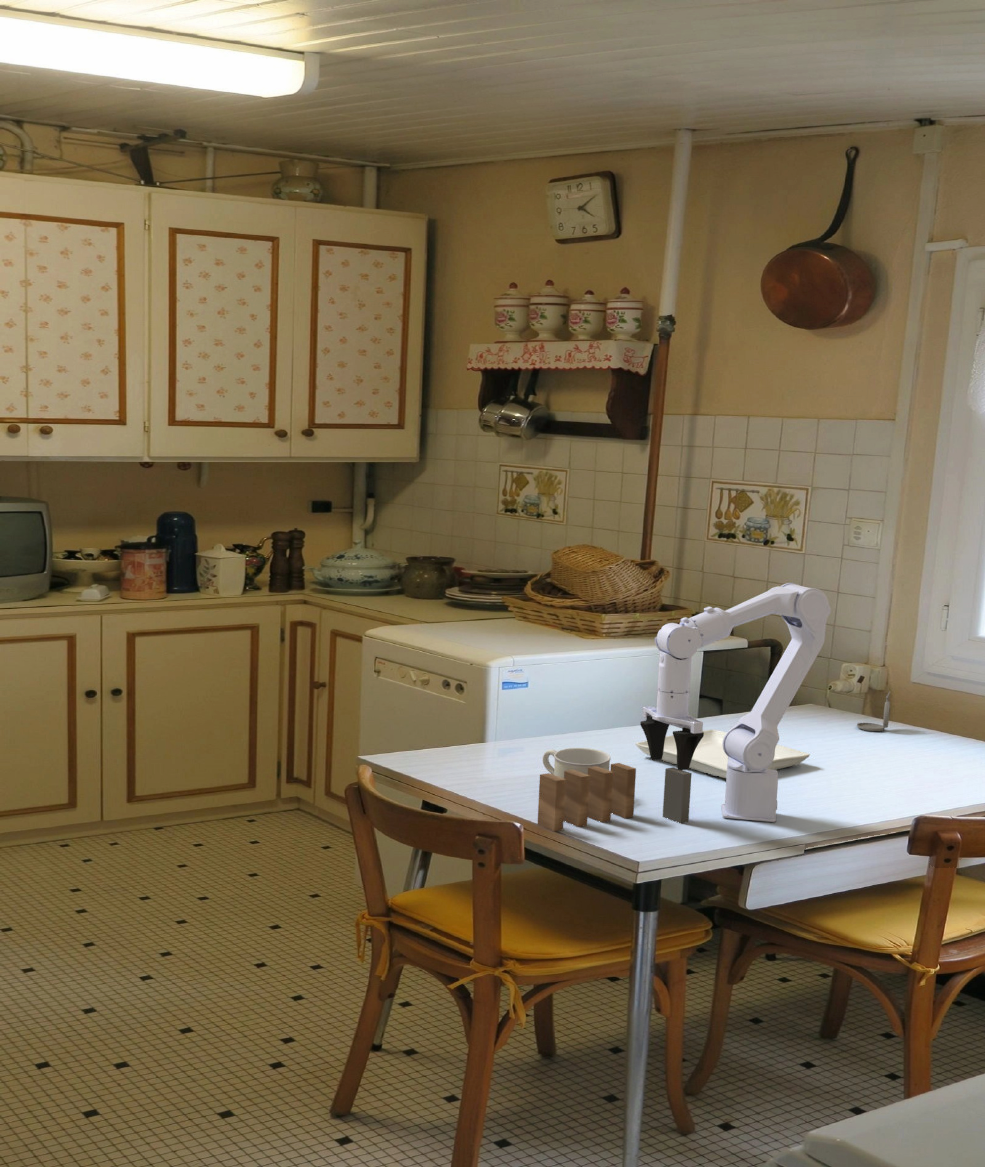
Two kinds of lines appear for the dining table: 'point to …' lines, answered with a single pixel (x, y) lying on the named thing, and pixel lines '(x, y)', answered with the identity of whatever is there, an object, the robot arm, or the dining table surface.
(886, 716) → the grey dish with post
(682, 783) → the domino
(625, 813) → the domino
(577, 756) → the teacup
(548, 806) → the domino
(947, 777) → the dining table surface
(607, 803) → the domino
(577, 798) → the domino
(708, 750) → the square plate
